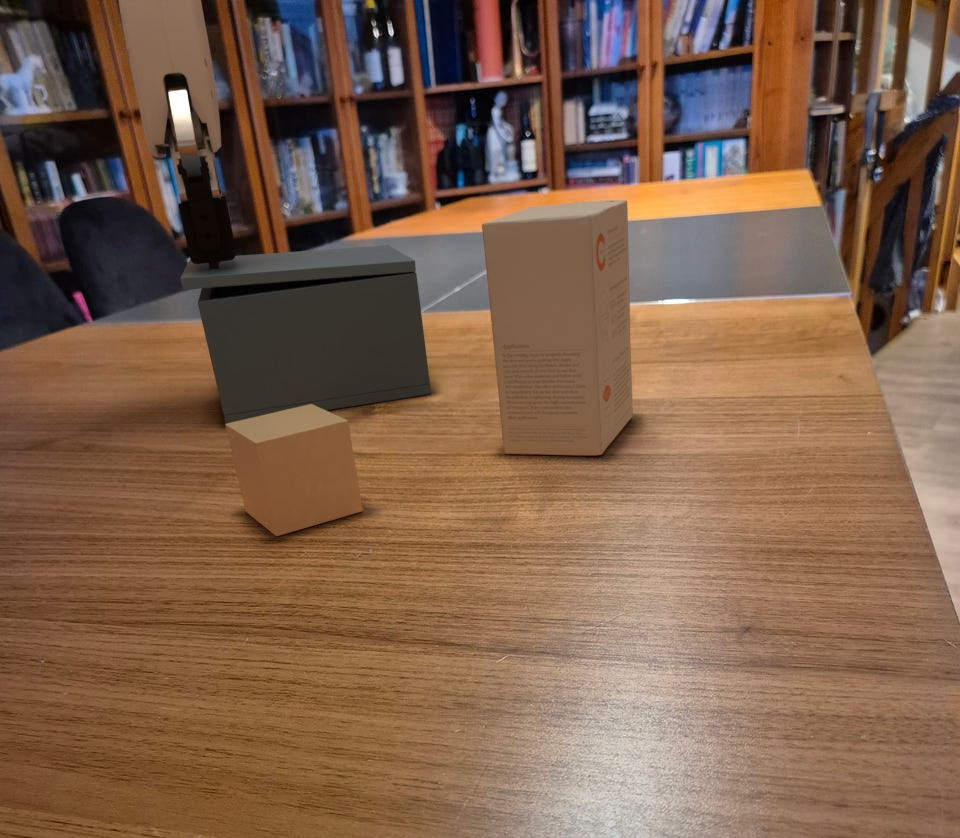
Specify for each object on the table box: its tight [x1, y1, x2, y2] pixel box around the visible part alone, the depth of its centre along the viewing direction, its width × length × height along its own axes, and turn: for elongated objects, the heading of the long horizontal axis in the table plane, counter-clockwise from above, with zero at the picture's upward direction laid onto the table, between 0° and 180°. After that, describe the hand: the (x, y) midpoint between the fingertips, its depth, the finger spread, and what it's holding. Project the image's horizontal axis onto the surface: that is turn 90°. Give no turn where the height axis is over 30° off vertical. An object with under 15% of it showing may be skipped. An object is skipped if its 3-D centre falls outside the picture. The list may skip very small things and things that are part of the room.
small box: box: [481, 199, 634, 456], centre depth 55 cm, size 8×6×13 cm
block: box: [225, 404, 364, 537], centre depth 50 cm, size 5×5×5 cm
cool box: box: [197, 272, 432, 425], centre depth 74 cm, size 16×14×9 cm
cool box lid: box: [180, 244, 417, 291], centre depth 70 cm, size 16×14×5 cm
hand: (214, 255), depth 70 cm, fingers closed on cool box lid, 5 cm apart
